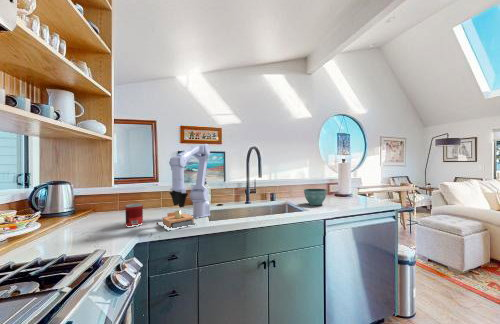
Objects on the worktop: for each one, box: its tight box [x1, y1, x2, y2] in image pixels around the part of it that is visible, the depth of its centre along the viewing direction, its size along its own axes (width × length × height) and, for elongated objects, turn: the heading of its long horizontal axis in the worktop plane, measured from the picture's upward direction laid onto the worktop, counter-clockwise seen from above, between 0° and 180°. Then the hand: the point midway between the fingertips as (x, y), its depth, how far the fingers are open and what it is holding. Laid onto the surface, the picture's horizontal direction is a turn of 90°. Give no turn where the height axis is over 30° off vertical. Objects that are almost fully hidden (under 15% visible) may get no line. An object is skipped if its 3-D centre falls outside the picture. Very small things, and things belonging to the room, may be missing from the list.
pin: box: [174, 209, 183, 219], centre depth 108 cm, size 3×3×7 cm
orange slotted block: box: [161, 211, 195, 228], centre depth 109 cm, size 12×11×5 cm
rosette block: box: [171, 220, 196, 228], centre depth 112 cm, size 14×18×3 cm
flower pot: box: [303, 188, 327, 206], centre depth 157 cm, size 16×16×11 cm
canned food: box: [125, 202, 144, 226], centre depth 111 cm, size 8×8×11 cm
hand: (178, 206), depth 109 cm, fingers open, 7 cm apart
